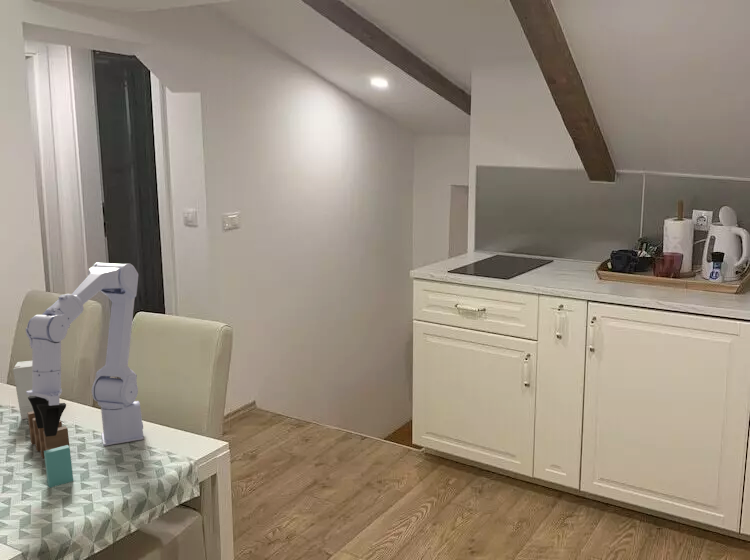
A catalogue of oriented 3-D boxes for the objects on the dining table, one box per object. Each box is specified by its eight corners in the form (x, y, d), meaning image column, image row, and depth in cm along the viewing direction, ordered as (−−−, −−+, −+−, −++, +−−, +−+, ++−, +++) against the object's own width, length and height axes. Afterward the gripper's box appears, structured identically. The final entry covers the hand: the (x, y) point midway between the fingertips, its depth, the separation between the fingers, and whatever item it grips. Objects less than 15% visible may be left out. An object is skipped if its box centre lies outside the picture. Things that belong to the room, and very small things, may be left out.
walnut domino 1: (30, 442, 190) (27, 412, 188) (52, 437, 193) (48, 407, 191) (32, 444, 189) (28, 414, 187) (53, 439, 192) (50, 409, 190)
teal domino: (47, 485, 168) (43, 451, 166) (71, 478, 171) (67, 444, 169) (49, 487, 167) (45, 453, 165) (73, 480, 169) (69, 447, 168)
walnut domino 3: (41, 456, 182) (37, 424, 180) (63, 450, 185) (59, 419, 183) (43, 458, 181) (39, 427, 179) (65, 453, 184) (61, 421, 182)
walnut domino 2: (36, 449, 186) (32, 418, 184) (57, 444, 189) (54, 413, 187) (37, 451, 185) (34, 420, 183) (59, 446, 188) (55, 415, 186)
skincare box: (56, 409, 212) (50, 357, 209) (52, 417, 206) (46, 364, 203) (23, 412, 210) (17, 360, 207) (18, 420, 204) (12, 367, 201)
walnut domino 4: (46, 463, 178) (43, 431, 177) (69, 457, 181) (65, 426, 179) (48, 466, 177) (44, 433, 175) (71, 460, 180) (67, 428, 178)
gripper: (20, 366, 170) (20, 426, 170) (34, 377, 158) (34, 442, 159) (53, 363, 174) (53, 422, 175) (69, 374, 162) (69, 437, 163)
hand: (46, 431), depth 167 cm, fingers open, 7 cm apart
